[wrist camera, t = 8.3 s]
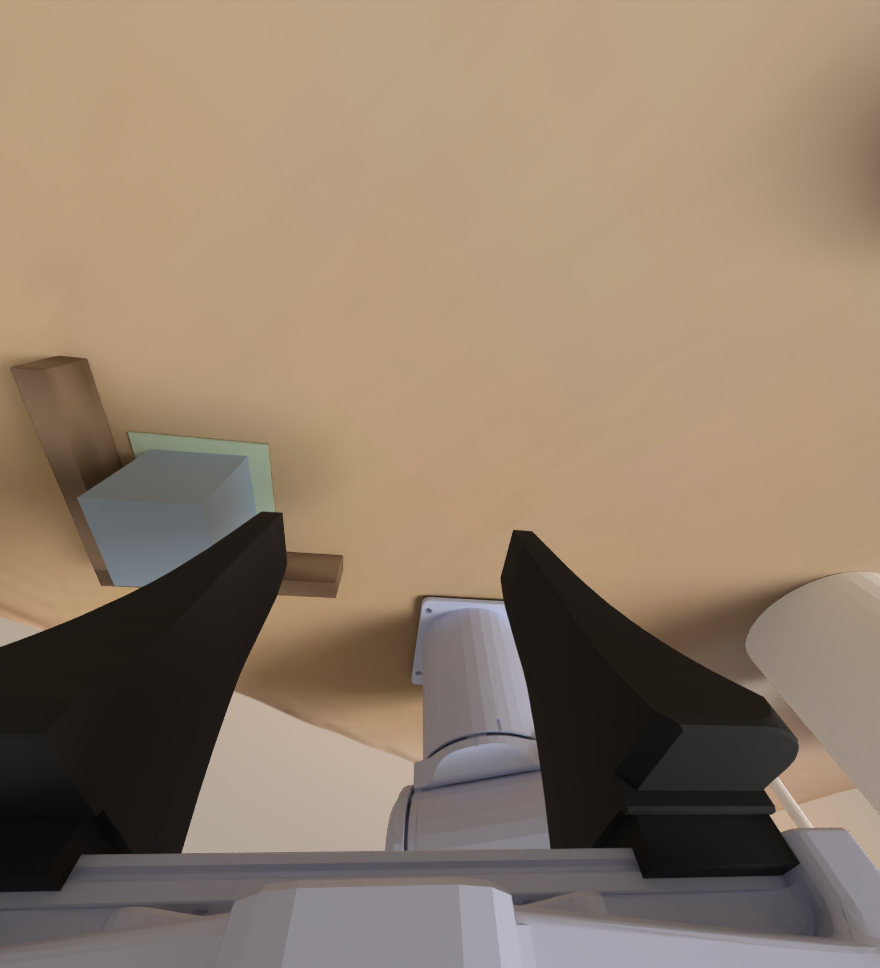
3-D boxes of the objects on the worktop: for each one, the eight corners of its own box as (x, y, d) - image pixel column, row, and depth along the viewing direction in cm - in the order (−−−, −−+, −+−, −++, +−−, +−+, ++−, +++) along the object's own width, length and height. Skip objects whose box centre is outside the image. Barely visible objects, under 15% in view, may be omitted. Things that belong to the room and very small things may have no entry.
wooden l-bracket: (342, 569, 25) (335, 598, 23) (130, 556, 24) (101, 585, 22) (342, 386, 19) (332, 401, 17) (59, 355, 18) (9, 367, 16)
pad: (278, 545, 24) (277, 547, 24) (161, 537, 23) (159, 539, 23) (267, 443, 21) (266, 445, 20) (129, 431, 20) (127, 432, 20)
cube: (247, 456, 21) (202, 505, 16) (259, 530, 23) (222, 590, 19) (150, 449, 20) (77, 497, 16) (173, 525, 23) (114, 585, 18)
